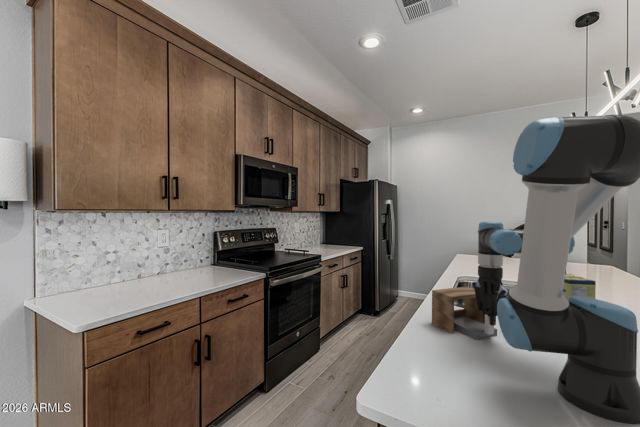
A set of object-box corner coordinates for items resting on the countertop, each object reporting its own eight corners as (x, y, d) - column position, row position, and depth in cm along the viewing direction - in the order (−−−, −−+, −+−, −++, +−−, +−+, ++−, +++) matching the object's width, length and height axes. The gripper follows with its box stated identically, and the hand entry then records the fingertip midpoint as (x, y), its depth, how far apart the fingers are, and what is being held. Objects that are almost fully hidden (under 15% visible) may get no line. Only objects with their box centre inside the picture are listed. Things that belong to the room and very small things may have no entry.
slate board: (497, 336, 106) (497, 329, 106) (476, 340, 102) (476, 332, 102) (464, 322, 119) (465, 316, 119) (445, 325, 115) (445, 319, 115)
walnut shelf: (487, 326, 114) (487, 292, 114) (451, 333, 107) (452, 297, 107) (465, 318, 123) (466, 286, 123) (431, 323, 116) (432, 290, 116)
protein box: (570, 306, 142) (571, 273, 142) (596, 317, 126) (596, 281, 126) (546, 304, 143) (547, 272, 143) (569, 315, 128) (569, 280, 128)
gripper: (515, 268, 99) (514, 339, 99) (481, 262, 111) (480, 325, 111) (499, 270, 96) (498, 342, 96) (466, 263, 108) (465, 327, 108)
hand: (489, 333), depth 103 cm, fingers closed
